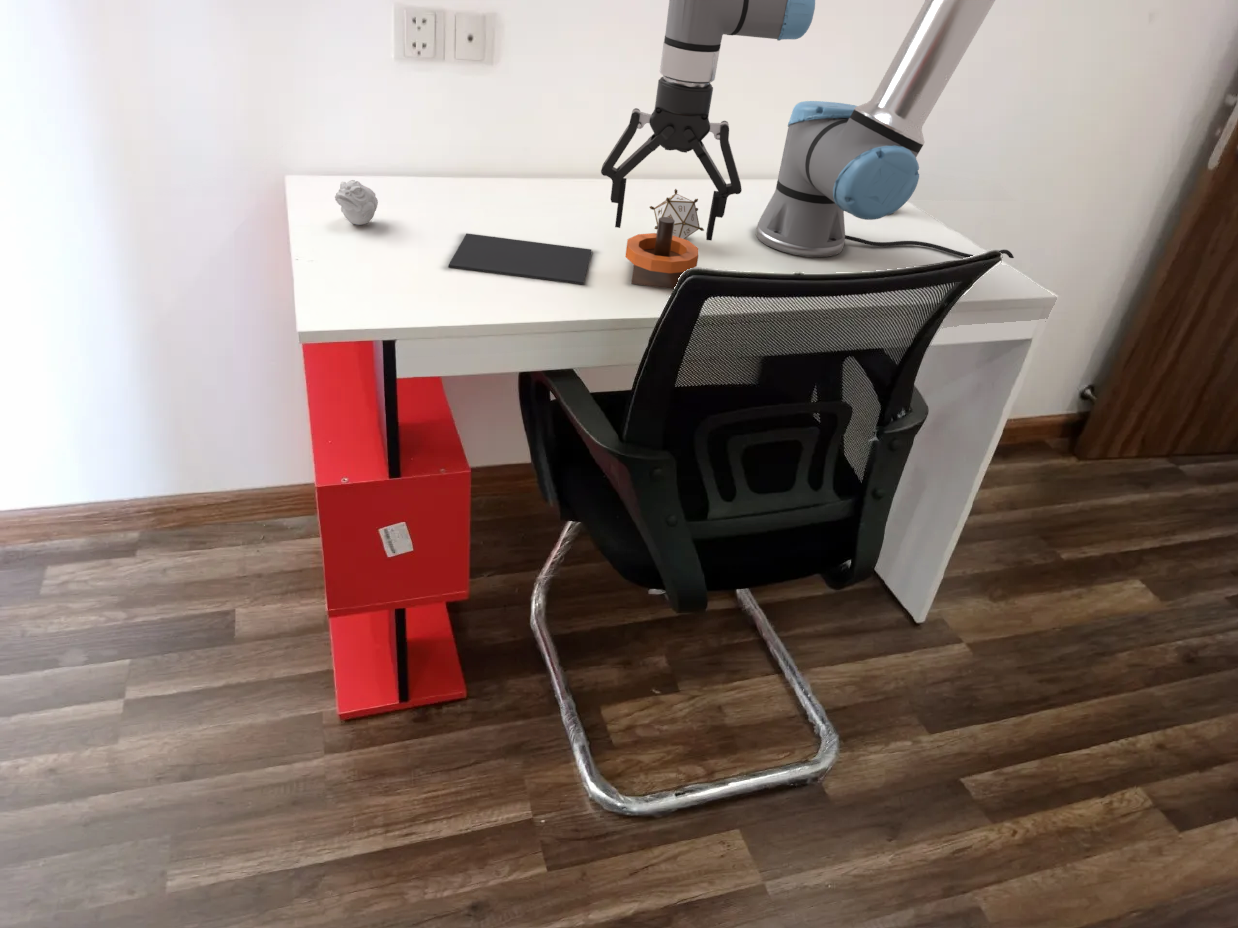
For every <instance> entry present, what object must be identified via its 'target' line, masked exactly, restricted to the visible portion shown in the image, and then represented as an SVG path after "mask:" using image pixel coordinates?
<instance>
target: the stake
mask: <svg viewBox="0 0 1238 928" xmlns="http://www.w3.org/2000/svg"><path fill="white" fill-rule="evenodd" d="M674 223H675V220H674V219H672V218H668V217H661V218H659V220H658V227H657V229H656V233H657V235H656V242H655V249H644V251H645V252H648V253H651V254H654V255H657V256H665V257H674V256H681V255H680V254H678V253H675V252H672V251H670V250H671V243H672V237H673V230H674ZM682 273H683V272H678V273H664V272H656V271H650V270H647V269H644V268H641V267H639V266H636V265H634V264H633V268H632V276H631V285H637V286H646V287H652V288H662V289H668V290H675V289H674V287H675V286H676V284H677V282H678V278H679V277H680V275H681V274H682Z"/></svg>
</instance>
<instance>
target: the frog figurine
mask: <svg viewBox="0 0 1238 928" xmlns="http://www.w3.org/2000/svg"><path fill="white" fill-rule="evenodd" d="M334 200H335V201H336V203H337V204H338V205H339V206H340V211H341V213H342V215H343V216H344V218H345V219H346V220H347V221H348V222H350V223H351V224H353V225H357V226H362V225H366V224H369V222H371V221H372V219H373V218H374V216H375V213H376V211H377V208H378V205H379V201H378V198H377V196H376V192H375V191H374V190H373V189H371V188H370V187H368V186H365V185H364V184H363V183H361V182H360V181H358V180H354V179H352V180H348V181H341V182H340V184H339V189H338V191H337V192H336V193H335V195H334Z"/></svg>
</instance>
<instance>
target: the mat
mask: <svg viewBox="0 0 1238 928" xmlns="http://www.w3.org/2000/svg"><path fill="white" fill-rule="evenodd" d="M591 255H592V248H591V249H590V248H583V247H576V246H575V247H574V246H569V245H568V246H567V245H560V244H552V243H544V242H537V241H528V240H520V239H513V238H505V237H500V236H499V237H498V236H490V235H482V234H475V233H468V232H467V233H465V235H464V237H463V239H462V240H461V242H460V243H459V246H458V247H457V249H456V251H455V253H454V254H453V255H452V258H451V260H450V262H449V263H448V266H447V267H448V268H452V269H459V270H466V271H473V272H474V271H475V272H481V273H491V274H497V275H499V274H500V275H506V276H514V277H521V278H530V279H537V280H544V281H545V280H546V281H552V282H553V281H554V282H561V283H568V284H576V285H584V283H585V279H586V275H587V271H588V267H589V263H590V259H591Z"/></svg>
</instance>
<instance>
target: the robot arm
mask: <svg viewBox="0 0 1238 928" xmlns="http://www.w3.org/2000/svg"><path fill="white" fill-rule="evenodd" d="M995 2H996V0H924V2H923V4H922V6H921V7H920V9H919V11H918V13H917V14H916V17H915V18H914V21H913V22H912V24H911V25H910V28H909V29H908V31H907V33H906V35H905V36H904V38H903V40H902V42H901V44H900V46H899V47H898V49H897V51H896V53H895V55H894V57H893V58H892V60H891V62H890V64H889V66H888V68H887V70H886V71H885V72H884V75H883V77H882V78H881V80H880V82H879V84H878V86H877V88H876V90H875V92H874V93H873V95H872V97H871V99H870V100H869V101H867V102H865V103H862V104H860V105H855V104H850V103H844V102H835V101H821V100H805V101H800V102H797V103H796V104H795V105H794V107H793V108H792V112H791V114H790V118H789V121H788V124H787V132H786V137H785V142H784V146H783V151H782V158H781V161H780V166H779V171H778V175H777V176H778V177H777V180H776V185H775V190H774V193H773V194H772V196H771V198H770V199H769V202H768V203H767V205H766V207H765V209H764V210H763V212H762V214H761V216H760V217H759V220H758V222H757V224H756V229H755V236H756V237H757V239H758V240H759V241H760V242H761V243H763V244H764V245H766V246H768V247H769V248H772V249H774V250H777V251H779V252H782V253H786V254H789V255H794V256H801V257H807V258H827V257H832V256H836V255H838V254H841V252H842V251H843V249H844V245H845V242H846V241H847V240H848V241H851V242H856V243H860V244H863V245H866V246H867V245H868V246H873V247H894V246H919V247H925V248H930V249H935V250H939V251H942V252H945V253H948V254H951V255H955V256H959V257H962V258H966V257H970V256H973V255H974V254H971V253H966V252H963V251H959V250H955V249H952V248H949V247H946V246H942V245H938V244H935V243H931V242H926V241H918V240H898V241H896V240H895V241H885V242H884V241H871V240H868V239H864V238H860V237H856V236H851V235H847V234H846V227H845V212H846V213H848V214H850V215H851V216H853V217H855V218H858V219H860V220H866V221H867V220H868V221H874V220H879V219H882V218H884V217H886V216H890V215H892V214H894V213H895V212H897V211H899V209H901V208H902V207H903V206H904V205H905V204H906V203H907V202H908V201H909V200H910V198H912V197H913V194H914V192H915V191H916V189H917V186H918V183H919V180H920V173H919V169H920V166H919V162H918V159H917V157H918V155H919V153H920V152H921V150H922V148H923V146H924V144H925V139H924V134H923V126H924V124H925V123H926V121H927V119H928V117H929V116H930V114H931V112H932V111H933V109H934V107H935V105H936V103H937V102H938V101H939V98H940V97H941V96H942V93H943V91H944V90H945V88H946V87H947V85H948V83H949V82H950V80H951V78H952V77H953V74H954V73H955V71H956V69H957V67H958V65H959V64H960V62H961V61H962V59H963V57H964V55H965V54H966V52H967V50H968V48H969V47H970V45H971V43H972V42H973V40H974V38H975V36H976V34H977V33H978V31H979V29H980V28H981V26H982V24H983V22H984V21H985V19H986V18H987V16H988V14H989V13H990V11H991V9H992V7H993V5H994V4H995ZM815 9H816V0H668V8H667V16H666V26H665V33H664V39H663V43H662V44H663V45H662V51H661V59H660V65H659V73H660V74H661V77H660V79H658V82H657V88H656V95H655V103H654V110H653V111H652V113H648V112H647V113H646V112H643V111H641V110H640V108H637V107H636V108H633V109H632V111H631V115H630V119H629V122H628V125H627V126H626V128H625V129H624V131H623V133H622V134H621V136H620V137H619V139H618V140H617V142H616V144H615V145H614V146H613V148H612V149H611V151H610V153H609V154H608V156H607V158H606V159H605V161H604V162H603V164H602V166H601V169H600V174H601V176H603V177H608V178H609V179H611V181H612V182H611V191H610V202H611V203H613V204H617V208H616V216H615V224H614V228H617V229H620V228H621V226H622V220H623V219H622V218H623V211H624V203H625V202H624V201H625V196H626V195H625V194H626V186H627V179H628V178H626V176H627V175H629V174H630V172H632V171H633V170H634V169H635V168H636V167H637V166H638V165H640V163H641V162H643V161H644V160H645V159H646V158H647V157H649V155H650V154H652V153H653V152H654V151H656V150H657V149H658V148H659V147H662V148H663V149H664V150H665V151H678V152H680V153H685V154H687V153H688V152H691V151H693V153H694V154H695V156H696V157H697V159H698V160H699V161H700V163H701V165H702V167H703V168H704V170H705V171H706V173H707V175H708V177H709V178H710V180H711V182H712V183H713V186H714V187H715V188H716V190H713V193H712V199H711V205H710V210H709V217H708V222H707V227H706V232H705V233H706V234H705V237H706V241H712V240H713V235H714V229H715V225H716V219H717V218H720V219H722V218H724V216H725V212H726V207H727V201H728V197H729V196H731V195H740V194H741V193H742V191H743V190H742V189H743V188H742V182H741V179H740V176H739V172H738V169H737V168H738V167H737V165H736V162H735V158H734V154H733V151H732V147H731V144H730V140H729V138H730V124H729V122H728V121H727V120H721V122H710V120H709V116H710V111H711V110H710V109H711V105H712V104H711V103H712V98H713V91H714V87H713V85H712V84H711V83H712V82H714V81H715V80H716V75H717V69H718V64H719V63H718V62H719V57H720V50H721V45H722V40H723V35H726V36H739V37H751V38H760V39H761V38H762V39H770V40H776V41H777V42H778V41H781V40H798V39H800V38H802V37H803V36H804V35H805V34H806V33H807V32H808V30H809V29H810V26H811V25H812V22H813V19H814V14H815ZM646 124H649V126H650V128H651V130H652V132H653V134H651V135H650V136H649V137H648V139H647V140H646V141H645V142H644V143H642V145H640V147H638V149H636V150H635V151H634V152H633V153H632V154H631V155H630V156H629V157H627V158H626V159H625V161H623V162H622V163H621V164H620V165H619V166H618V167H615V165H616V164H617V162H618V161H619V159H620V157H621V156H622V154H623V153H624V151H625V150H626V148H627V147H628V146H629V144H630V142H631V141H632V139H633V138H634V136H635V134H636V133H637V131H638V129H639V130H641V129H643V128H644V126H645V125H646ZM709 133H712V134H713V137H714V139H715V140H717V141H719V145H720V150H721V153H722V157H723V161H724V164H725V168H726V171H727V175H728V177H729V183H727V182H726V180H725V179H724V178H723V175H722V173H721V172H720V169H718V167H717V166H716V164H715V161H714V159H712V157H711V155H710V153H709V151H708V150H707V148H706V146H705V144H704V142H703V140H704V138H706V136H707V135H708V134H709ZM998 251H999V252H1001V253H1002V254H1001V255H1004V254H1005V255H1006V256H1007V257H1008V258H1010V259H1014V258H1015V256H1014V254H1013V253H1012V252H1011V251H1010V250H1008V249H999V250H998Z"/></svg>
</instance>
